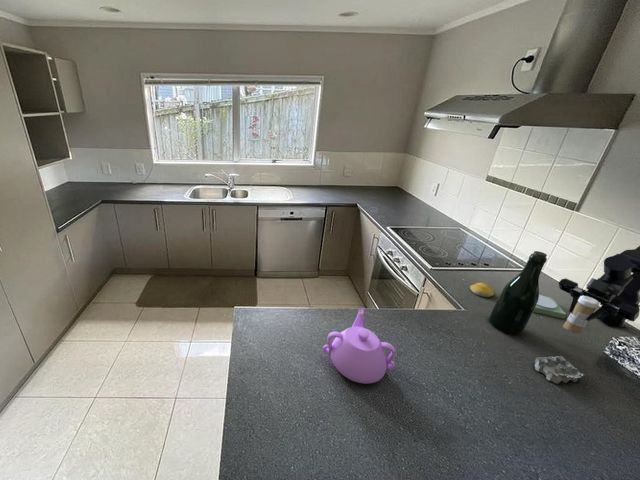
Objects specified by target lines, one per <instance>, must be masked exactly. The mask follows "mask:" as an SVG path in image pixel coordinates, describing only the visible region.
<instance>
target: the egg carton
mask: <svg viewBox="0 0 640 480" xmlns="http://www.w3.org/2000/svg"><path fill="white" fill-rule="evenodd" d="M534 362H535V364H534V367H535V371H536V372H537V373H542V374H543V375H544V376H546V377H545V379H546V380H547V381H549V382H552V383H554V384H556V385H557V384H560V383H562V382H563V383H564V384H565V383H568V382H569V381H571V382H573V383H576V382H578V379H579V378H583V376H584V373H581V372H580V371H579V369H578V368H577V367H575V365H573V364H572V363H571V362H570V361H567V359H566V358H565V357H563V355H559V356H558V355H557V356H544V357H543V356H542V357H541V356H537V357H535V359H534Z"/></svg>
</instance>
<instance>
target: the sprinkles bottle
mask: <svg viewBox="0 0 640 480" xmlns="http://www.w3.org/2000/svg"><path fill="white" fill-rule="evenodd" d="M599 306H600V302H598V301H597V300H595V299H593V298H591V297H588V296H580V298H579V299H578V303H577V304H576V306H575V308H574V309H573V310H572V312H570V314H569V315H568V317H567V319H566V320H565V322H564V324H562V327H563V328H564V329H565V330H566V331H568V332H571V333H573V334H577V335H579V334H582V330H583V329H584V328H585V327H586V325H587V323H588V322H589V321H587V318H588V317H589V316H590V315H591V314H593V313H594V312H595V311H596V309H598V308H599Z"/></svg>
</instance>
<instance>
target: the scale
mask: <svg viewBox="0 0 640 480" xmlns="http://www.w3.org/2000/svg"><path fill="white" fill-rule="evenodd" d="M533 313H536V314H541V315H546V316H550V317H554V318H558V319H565V318H566V316H567V313H566V312H565V311H564V310H563V308H561V306H560V305H559V304H558V303H557V302H556V300H555V299H554V298H553V297H551V296H546V295H542V294H539V299H538V302H537V304H536V307H535V309H534V311H533Z"/></svg>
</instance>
